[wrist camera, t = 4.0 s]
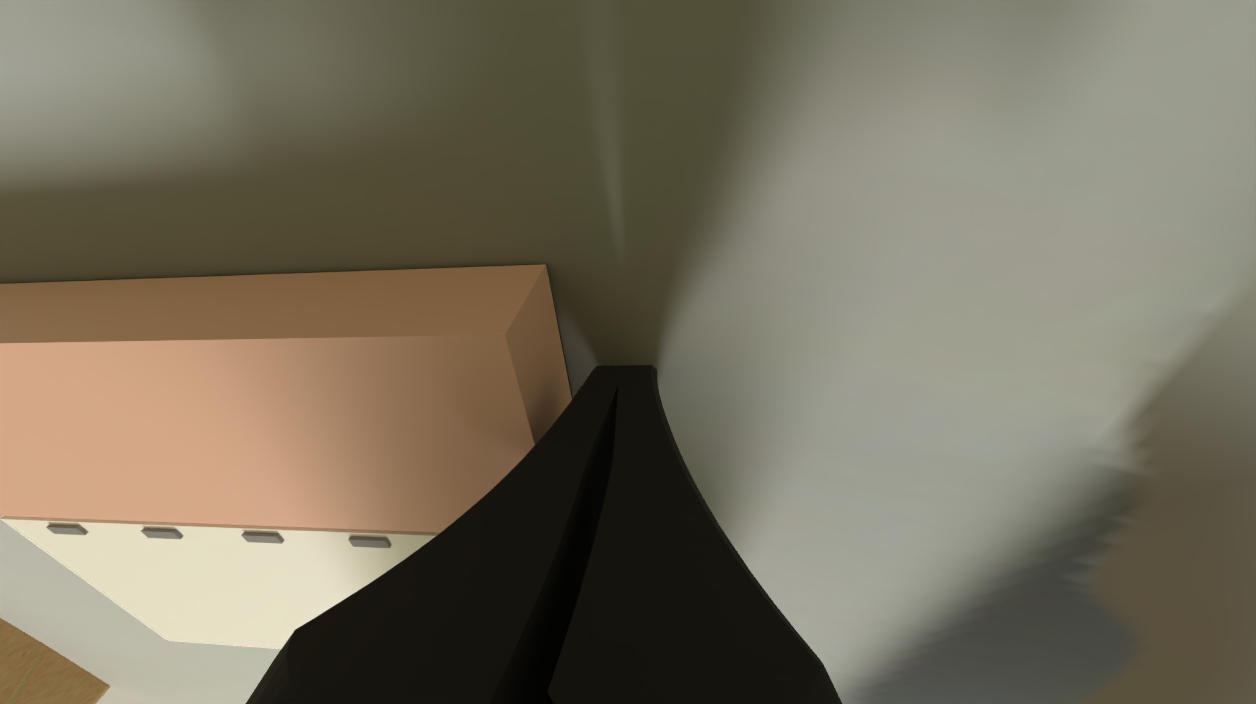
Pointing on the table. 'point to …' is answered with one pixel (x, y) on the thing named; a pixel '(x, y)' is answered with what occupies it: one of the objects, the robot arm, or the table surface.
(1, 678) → the sandwich container
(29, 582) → the table surface
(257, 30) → the table surface
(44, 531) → the board
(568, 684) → the robot arm
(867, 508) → the table surface
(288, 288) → the block
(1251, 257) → the table surface
